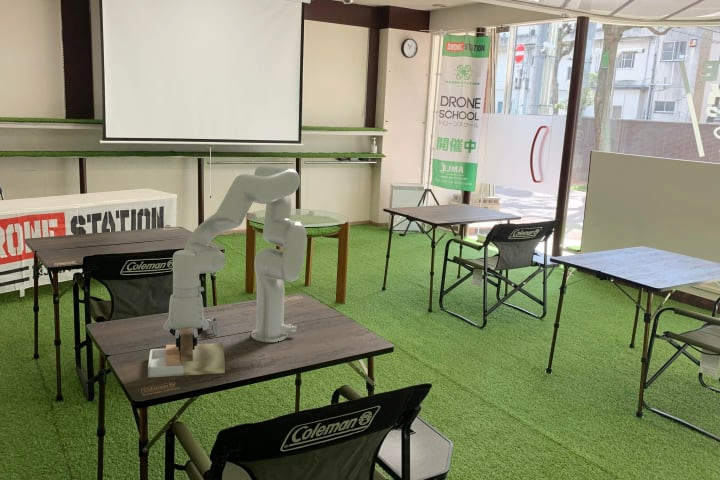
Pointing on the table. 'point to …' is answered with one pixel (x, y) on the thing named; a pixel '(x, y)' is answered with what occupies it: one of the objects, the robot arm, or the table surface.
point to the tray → (162, 365)
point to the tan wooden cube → (172, 360)
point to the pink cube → (172, 350)
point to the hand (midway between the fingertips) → (186, 348)
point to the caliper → (212, 325)
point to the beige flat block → (206, 360)
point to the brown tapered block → (186, 345)
